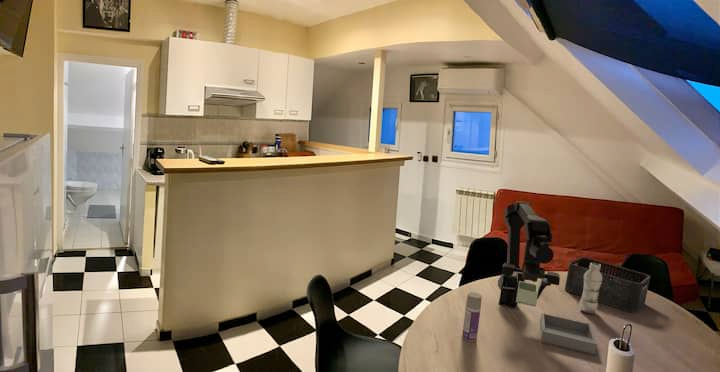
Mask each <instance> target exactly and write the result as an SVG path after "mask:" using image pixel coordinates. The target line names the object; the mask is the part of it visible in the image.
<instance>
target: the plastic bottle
mask: <svg viewBox="0 0 720 372" xmlns="http://www.w3.org/2000/svg"><path fill="white" fill-rule="evenodd" d="M600 269H601V265H600V264H597V263H592V262H590V266H589V270H588V271H586V272H585V274H584V289H583V294H582V296H581V298H580V300H579V304H578V305H579V309H580V311H582V312H584V313H586V314H596V313H597V312H598V310H599V302H598V294H599V290H600V286H601V283H602V280H603V278H602V275H601V273H600V271H599V270H600Z"/></svg>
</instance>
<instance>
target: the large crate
mask: <svg viewBox="0 0 720 372" xmlns="http://www.w3.org/2000/svg"><path fill="white" fill-rule="evenodd" d="M539 330H540V331H539V332H540V333H539V334H540V343H541V344H544V345H549V346H553V347H558V348H562V349H566V350H570V351H573V352H577V353H578V352H579V353H582V354H586V355H590V356H594V357H595V356H596V354H597V348H598V343H597V339H596V336H595V333H594V330H593V327H592V324H591V323H589V322H585V321H579V320H575V319H572V318H566V317H563V316H558V315H553V314H549V313H546V312H545V313H544V312H541V314H540V320H539Z"/></svg>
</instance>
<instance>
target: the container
mask: <svg viewBox="0 0 720 372" xmlns="http://www.w3.org/2000/svg"><path fill="white" fill-rule="evenodd" d="M482 298H483V297H482V295H481V294H480V293H479V292H478V293H477V292H473V291H471V292H470V291H469V292H468V293H467V296H466V303H465V310H464V318H463V324H462V326H463V327H462V335H461V338H462V339H463V340H464V341H466V342H471V343H472V342H476V341H477V339H478V334H479V333H478V332H479V325H480V315H481V308H482Z"/></svg>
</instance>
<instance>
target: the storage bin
mask: <svg viewBox="0 0 720 372" xmlns="http://www.w3.org/2000/svg"><path fill="white" fill-rule="evenodd" d="M590 263H597V264H600V265H601V269H600V270H599V271H600V273H601V275H602V278H603V280H602V283H601V286H600V290H599V294H598V303H599V304H600V303H601V304H603V305H606V306H609V307H612V308H615V309H619V310H620V311H624V312H628V313H634V314H635V313H637V312H638V311H640V310H641V309H642V308H643V307H644V306H645V304H646V300H647V294H648V289H649V285H650V280H651V276H650V275H649V274H647V273H644V272H640V271H636V270H634V269H629V268H626V267H623V266H620V265H615V264H612V263H608V262H604V261H600V260H597V259H593V258H589V257H585V256H583V257H582V256H581V257H580V256H579V257H578V258H575V259H573V260H571V261H569V263H568V268H567V269H568V270H567V275H566V279H565V286H564V290H565V291H567V292H569V293H571V294H574V295H577V296H580V297H582V294H583V289H584V274H585V272H586V271H588V270H589V269H590V268H589V266H590Z"/></svg>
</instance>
